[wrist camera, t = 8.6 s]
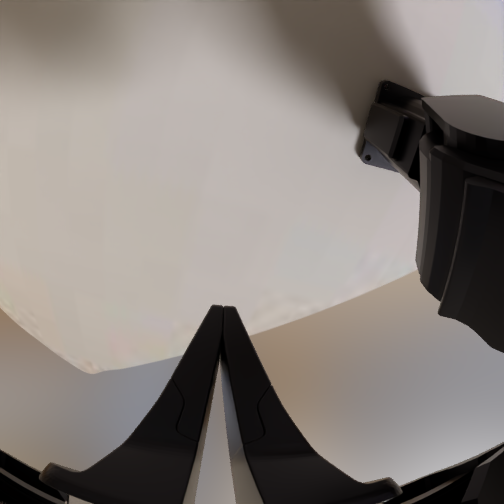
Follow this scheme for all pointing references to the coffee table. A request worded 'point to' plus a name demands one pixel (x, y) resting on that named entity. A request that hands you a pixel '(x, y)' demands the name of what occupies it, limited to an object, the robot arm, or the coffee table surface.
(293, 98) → the coffee table surface
